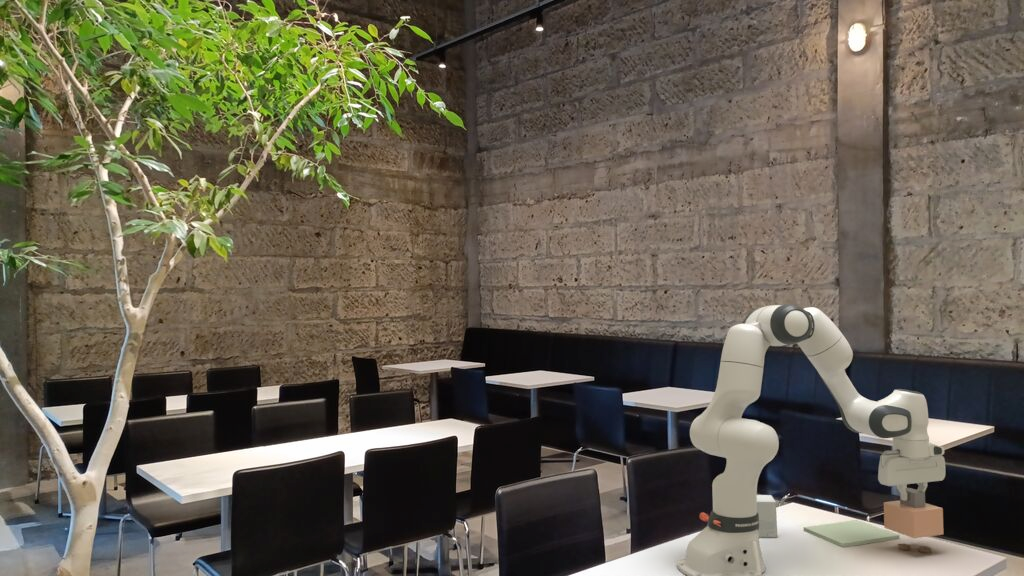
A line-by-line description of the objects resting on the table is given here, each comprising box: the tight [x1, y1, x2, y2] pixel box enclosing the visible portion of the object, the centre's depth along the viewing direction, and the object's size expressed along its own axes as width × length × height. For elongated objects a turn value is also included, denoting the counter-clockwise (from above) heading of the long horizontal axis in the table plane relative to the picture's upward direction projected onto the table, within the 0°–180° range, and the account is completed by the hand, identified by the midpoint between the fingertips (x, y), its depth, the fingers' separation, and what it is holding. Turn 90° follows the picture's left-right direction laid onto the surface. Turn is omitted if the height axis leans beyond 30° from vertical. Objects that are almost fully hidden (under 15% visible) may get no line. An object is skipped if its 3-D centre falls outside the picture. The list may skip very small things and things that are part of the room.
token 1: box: [897, 543, 912, 552], centre depth 198 cm, size 3×3×1 cm
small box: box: [757, 494, 778, 538], centre depth 214 cm, size 8×6×10 cm
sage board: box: [803, 519, 901, 548], centre depth 211 cm, size 20×16×1 cm
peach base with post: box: [883, 487, 944, 539], centre depth 197 cm, size 10×10×11 cm
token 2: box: [918, 545, 932, 555], centre depth 196 cm, size 3×3×1 cm
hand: (912, 499), depth 197 cm, fingers closed on peach base with post, 3 cm apart
